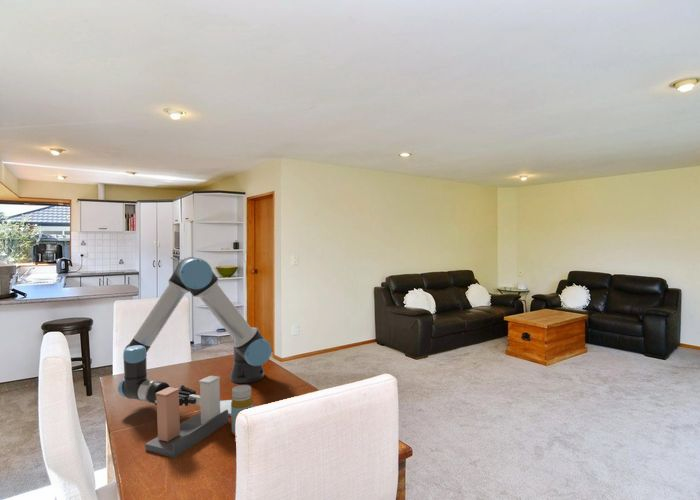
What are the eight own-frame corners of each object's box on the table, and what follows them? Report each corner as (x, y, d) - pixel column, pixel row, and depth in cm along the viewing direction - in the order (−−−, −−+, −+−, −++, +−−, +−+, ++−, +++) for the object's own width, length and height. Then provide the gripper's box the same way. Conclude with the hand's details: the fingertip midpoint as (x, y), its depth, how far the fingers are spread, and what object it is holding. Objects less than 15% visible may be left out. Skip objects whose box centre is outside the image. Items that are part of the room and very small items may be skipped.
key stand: (201, 416, 143) (201, 404, 143) (228, 422, 139) (228, 409, 139) (145, 450, 121) (144, 436, 121) (174, 457, 117) (174, 443, 117)
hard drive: (230, 413, 144) (235, 399, 156) (207, 415, 142) (214, 400, 155) (231, 417, 144) (236, 403, 156) (207, 419, 142) (214, 404, 155)
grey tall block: (211, 416, 138) (210, 375, 138) (221, 418, 136) (220, 376, 136) (200, 423, 133) (198, 380, 133) (210, 425, 131) (209, 382, 131)
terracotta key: (170, 431, 128) (169, 386, 128) (181, 433, 126) (179, 388, 126) (157, 439, 123) (155, 393, 123) (167, 442, 121) (165, 395, 121)
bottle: (231, 439, 127) (230, 393, 127) (232, 429, 134) (230, 385, 133) (254, 435, 129) (252, 390, 128) (253, 425, 136) (251, 383, 135)
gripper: (169, 395, 150) (218, 404, 141) (139, 409, 138) (190, 420, 129) (168, 375, 150) (217, 384, 141) (139, 388, 138) (190, 397, 129)
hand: (204, 401), depth 135 cm, fingers closed
